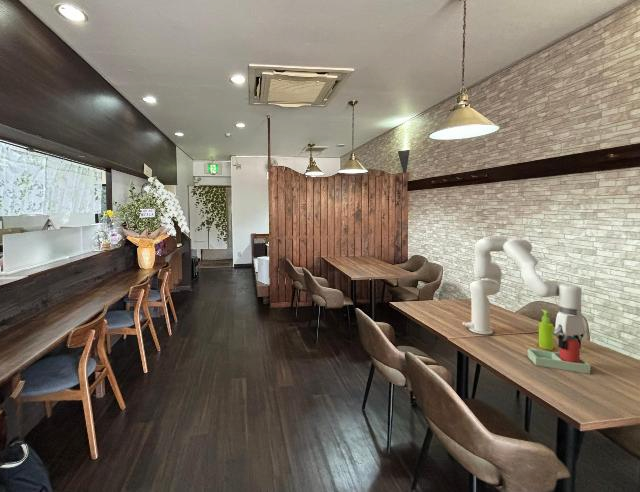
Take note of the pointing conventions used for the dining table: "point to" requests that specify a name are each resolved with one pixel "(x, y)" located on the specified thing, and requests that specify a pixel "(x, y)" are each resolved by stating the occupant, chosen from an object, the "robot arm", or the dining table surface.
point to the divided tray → (556, 361)
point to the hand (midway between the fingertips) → (569, 347)
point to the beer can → (571, 350)
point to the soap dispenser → (546, 332)
